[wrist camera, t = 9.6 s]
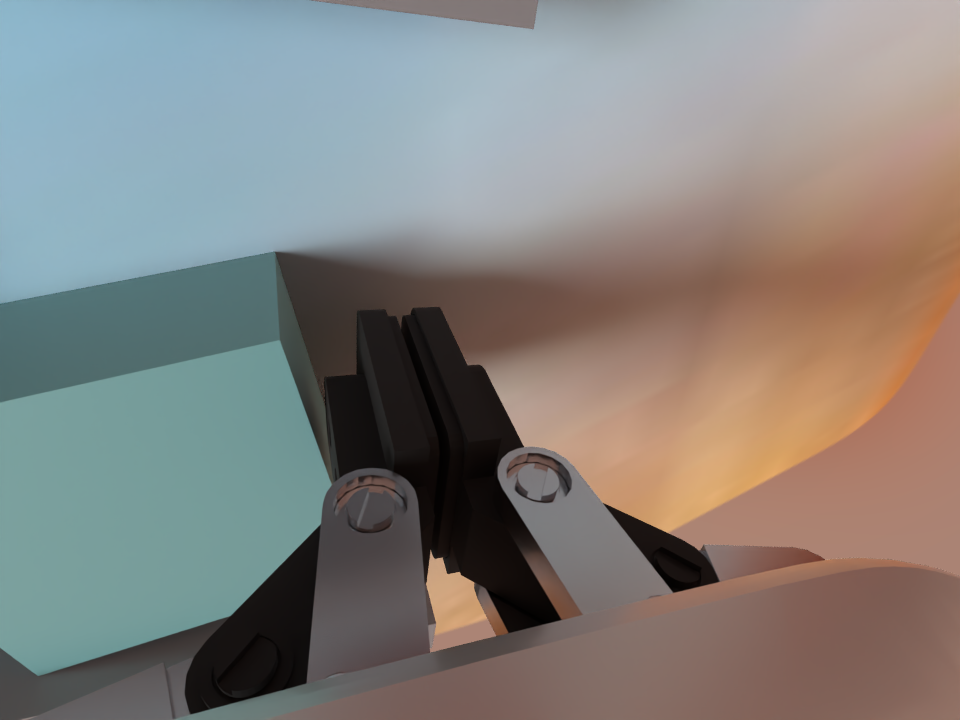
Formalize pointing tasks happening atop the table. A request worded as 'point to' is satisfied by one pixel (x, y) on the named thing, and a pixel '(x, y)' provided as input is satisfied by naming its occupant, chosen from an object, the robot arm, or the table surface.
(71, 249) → the table surface
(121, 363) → the teal square block
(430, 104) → the table surface
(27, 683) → the box
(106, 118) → the table surface
